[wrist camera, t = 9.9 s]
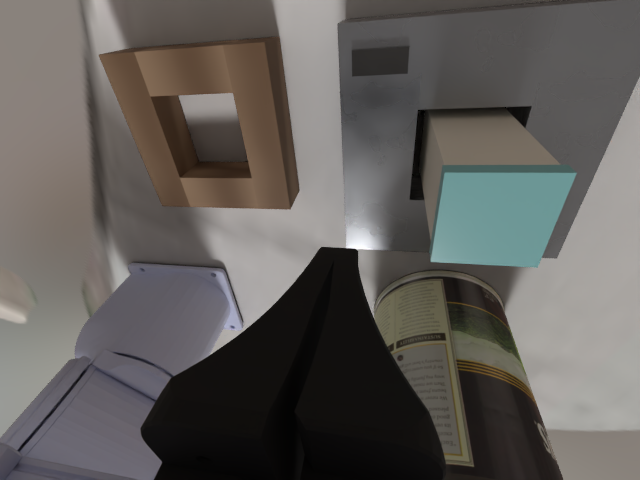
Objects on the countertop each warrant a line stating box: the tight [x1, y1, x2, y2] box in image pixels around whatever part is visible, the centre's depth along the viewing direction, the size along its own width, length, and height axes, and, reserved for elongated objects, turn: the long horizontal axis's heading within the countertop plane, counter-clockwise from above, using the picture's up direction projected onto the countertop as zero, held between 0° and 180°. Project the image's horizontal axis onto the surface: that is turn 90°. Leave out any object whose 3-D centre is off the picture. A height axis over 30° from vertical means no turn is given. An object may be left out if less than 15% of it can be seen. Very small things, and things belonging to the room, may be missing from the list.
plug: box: [419, 107, 577, 268], centre depth 15 cm, size 4×4×9 cm
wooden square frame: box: [99, 37, 299, 209], centre depth 20 cm, size 9×9×2 cm
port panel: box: [338, 0, 640, 258], centre depth 17 cm, size 12×12×3 cm
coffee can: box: [374, 270, 563, 480], centre depth 22 cm, size 10×10×14 cm
